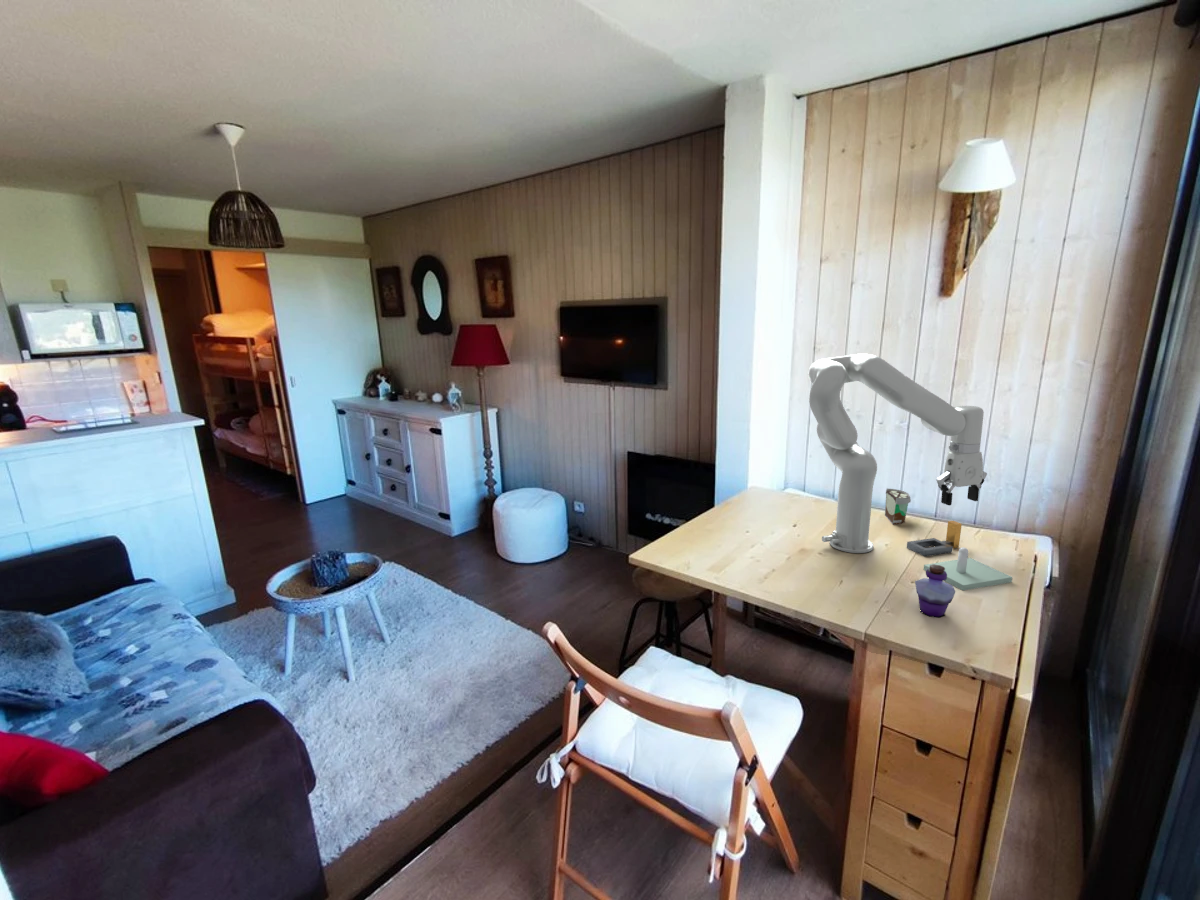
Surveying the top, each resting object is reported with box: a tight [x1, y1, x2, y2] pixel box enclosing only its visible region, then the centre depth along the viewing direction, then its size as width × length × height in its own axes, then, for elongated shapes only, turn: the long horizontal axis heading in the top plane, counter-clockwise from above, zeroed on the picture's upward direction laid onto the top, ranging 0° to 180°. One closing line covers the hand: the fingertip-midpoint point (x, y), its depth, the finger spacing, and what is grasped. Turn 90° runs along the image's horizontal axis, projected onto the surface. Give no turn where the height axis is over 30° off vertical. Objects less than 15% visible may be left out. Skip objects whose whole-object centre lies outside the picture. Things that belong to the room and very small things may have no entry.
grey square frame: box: [906, 520, 963, 558], centre depth 168 cm, size 14×7×8 cm, turn 104°
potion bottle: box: [914, 564, 956, 619], centre depth 133 cm, size 9×9×12 cm
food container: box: [884, 488, 912, 526], centre depth 193 cm, size 12×6×10 cm, turn 168°
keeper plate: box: [923, 547, 1013, 591], centre depth 151 cm, size 16×13×9 cm
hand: (959, 502), depth 167 cm, fingers open, 9 cm apart
